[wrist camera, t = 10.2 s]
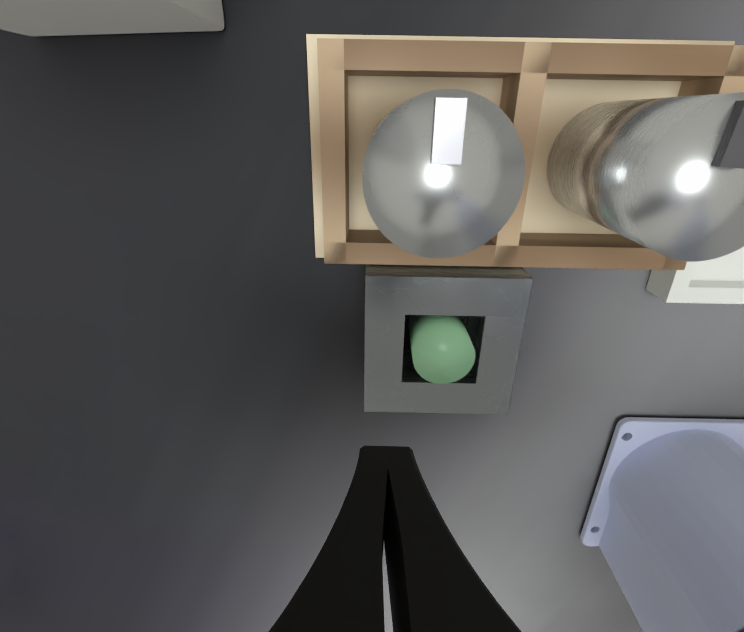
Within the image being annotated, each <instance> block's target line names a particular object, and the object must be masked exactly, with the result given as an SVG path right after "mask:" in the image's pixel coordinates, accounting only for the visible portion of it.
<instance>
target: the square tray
mask: <svg viewBox="0 0 744 632" xmlns="http://www.w3.org/2000/svg"><path fill="white" fill-rule="evenodd" d="M646 290H647V291H649V292H650V293H652V294H653V295H655V296H657V297H658V298H660V299H661V300H663V301H664V302H666V303H719V304H744V247H742V248H740V249H739V250H737V251H734V252H732V253H730V254H728V255H725V256H722V257H719V258H715V259H711V260H706V261H697V262H687V263H686V266H685V269H684V270H652V271H651V274H650V277H649V280H648V283H647V287H646Z"/></svg>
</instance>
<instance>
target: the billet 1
mask: <svg viewBox="0 0 744 632" xmlns="http://www.w3.org/2000/svg"><path fill="white" fill-rule="evenodd" d="M524 179H525V156H524V150H523V146H522V143H521V140H520V137H519V134H518V132H517V130H516V128H515V126H514V125H513V123H512V122H511V120H510V119H509V117H508V116H507V115H506V114H505V113H504V112H503V111H502V109H500V108H499V107H498V106H497V105H496V104H494V103H493V102H492V101H490V100H488V99H487V98H485V97H483V96H481V95H479V94H476V93H474V92H470V91H466V90H462V89H437V90H433V91H428V92H425V93H422V94H419V95H417V96H415V97H413V98H411V99H409V100H407V101H405V102H404V103H402V104H400V105H399V106H397V107H396V108H394V109H393V110H392V111H390V112H389V113H388V114H387V115H386V116H385V117H384V118H383V119H382V120H381V121H380V122H379V124H378V125H377V127H376V129H375V130H374V133H373V135H372V137H371V140H370V143H369V146H368V149H367V152H366V155H365V160H364V165H363V174H362V185H363V194H364V199H365V203H366V206H367V209H368V211H369V214H370V216H371V218H372V220H373V221H374V223H375V224H376V226H377V228H378V229H379V230H380V231H381V232H382V234H383V235H384V236H385V237H386V238H387V239H388V240H390V241H391V242H392V243H393V244H395V245H396V246H398V247H399V248H401V249H403V250H405V251H407V252H409V253H412V254H415V255H417V256H422V257H427V258H449V257H455V256H459V255H462V254H465V253H468V252H470V251H472V250H475V249H477V248H478V247H480V246H482V245H483V244H485V243H486V242H488V241H489V240H490V239H492V238H493V237H494V236H495V235H496V234H497V233H498V232H499V231H500V230H501V229H502V228H503V227H504V225H505V224H506V223H507V222H508V220H509V219H510V217H511V215H512V214H513V212H514V210H515V208H516V206H517V204H518V202H519V199H520V196H521V193H522V189H523V185H524Z"/></svg>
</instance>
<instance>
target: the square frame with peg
mask: <svg viewBox="0 0 744 632" xmlns="http://www.w3.org/2000/svg"><path fill="white" fill-rule="evenodd" d="M532 281H533V279H532V278H531V277H530V276H529V275H528V274H527V272H526V271H525V270H524V269H523V268H522V267H488V266H434V265H380V264H366V274H365V363H364V412H408V413H459V414H508V410H509V404H510V399H511V394H512V388H513V383H514V378H515V372H516V367H517V361H518V356H519V351H520V345H521V340H522V335H523V329H524V324H525V319H526V313H527V308H528V303H529V297H530V292H531V287H532ZM405 315H445V316H468V322H467V332H468V335H469V337H470V339H471V342H472V344H473V346H474V349H475V361H474V364H473V366H472V368H471V370H470V371H469V372H468V373H467V374H466V375H465V376H464V377H463V378H461V379H459V380H457V381H455V382H452V383H447V384H437V383H432V382H429V381H427V380H425V379H424V378H422V377H421V376H420V375H419V374H418V373H417V371H416V370H415V368H414V365H413V359H412V352H411V350H403V345H404V327H405Z"/></svg>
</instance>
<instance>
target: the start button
mask: <svg viewBox="0 0 744 632" xmlns="http://www.w3.org/2000/svg"><path fill="white" fill-rule="evenodd" d="M408 331H409V338H410V345H411V352H412V359H413V365H414V368H415V370H416V371H417V373H418V374H419V375H420V376H421V377H422V378H424V379H425V380H427V381H429V382H432V383H437V384H447V383H452V382H455V381H457V380H459V379H461V378H463V377H464V376H465V375H466V374H467V373H468V372H469V371H470V370H471V368H472V366H473V364H474V361H475V349H474V346H473V344H472V342H471V339H470V337H469V335H468V332H467V330H466V328H465V325H464V323H463V320H462V318H461V316H445V315H410V317H409V320H408Z"/></svg>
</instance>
